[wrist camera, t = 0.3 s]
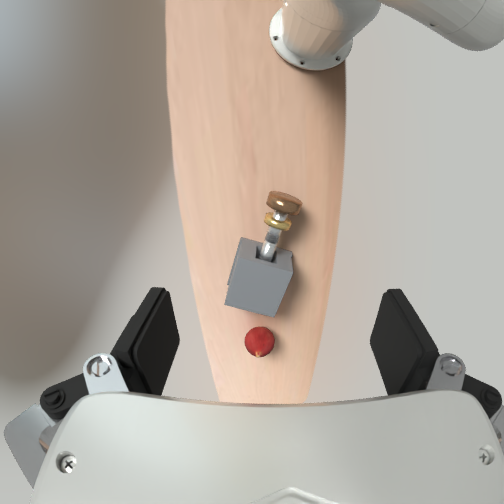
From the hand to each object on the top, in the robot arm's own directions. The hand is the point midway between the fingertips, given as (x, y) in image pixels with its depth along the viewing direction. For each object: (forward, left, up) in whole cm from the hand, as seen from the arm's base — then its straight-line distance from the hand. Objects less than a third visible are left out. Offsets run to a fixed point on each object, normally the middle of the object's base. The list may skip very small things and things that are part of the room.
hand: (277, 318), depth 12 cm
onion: (+30, +7, -34) cm, 46 cm away
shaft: (+8, +3, -32) cm, 34 cm away
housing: (+16, +3, -34) cm, 38 cm away
